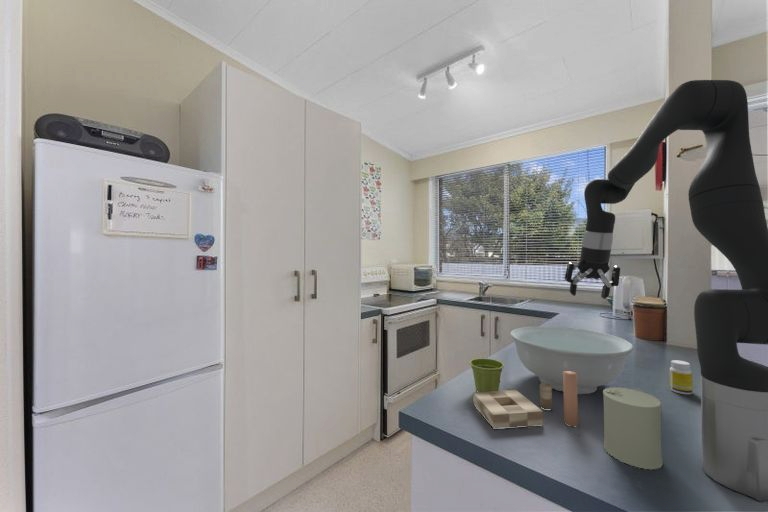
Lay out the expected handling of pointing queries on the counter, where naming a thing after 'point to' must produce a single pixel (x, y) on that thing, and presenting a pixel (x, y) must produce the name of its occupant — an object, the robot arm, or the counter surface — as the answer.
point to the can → (632, 427)
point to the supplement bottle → (680, 377)
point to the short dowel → (545, 396)
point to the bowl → (571, 355)
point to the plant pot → (486, 374)
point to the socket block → (507, 409)
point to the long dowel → (570, 398)
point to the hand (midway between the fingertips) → (588, 296)
